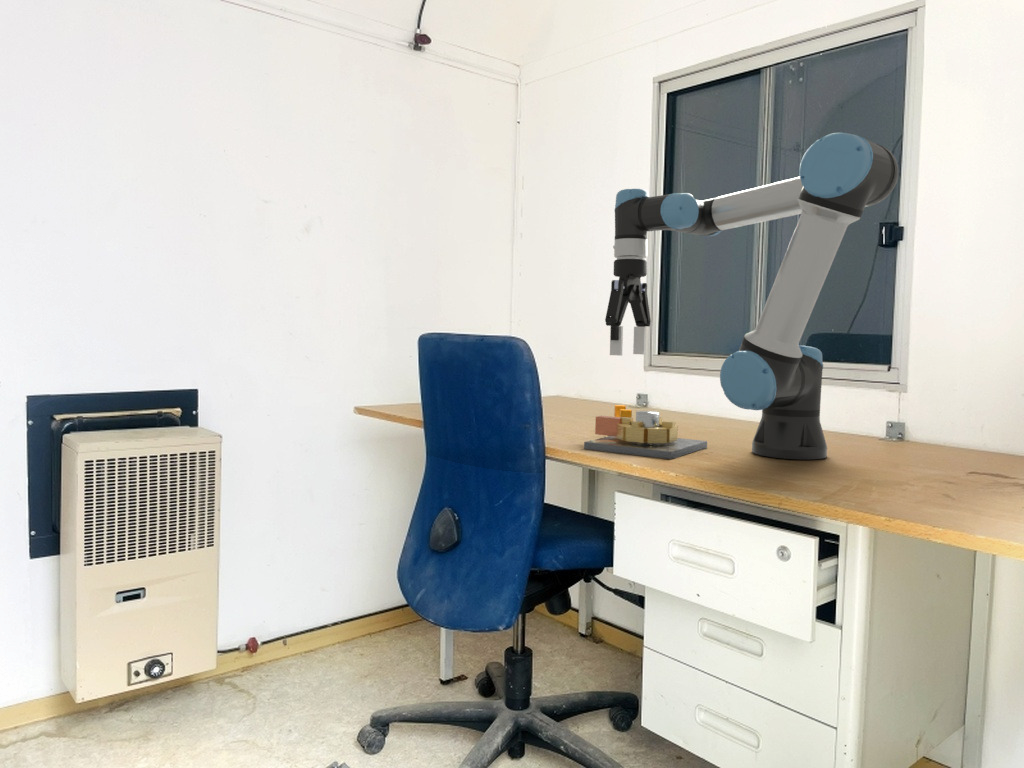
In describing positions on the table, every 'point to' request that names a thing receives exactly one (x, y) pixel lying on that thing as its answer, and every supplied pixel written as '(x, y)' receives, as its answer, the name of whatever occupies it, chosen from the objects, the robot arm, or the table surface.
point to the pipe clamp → (622, 411)
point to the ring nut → (636, 430)
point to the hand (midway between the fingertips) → (627, 354)
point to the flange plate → (647, 449)
